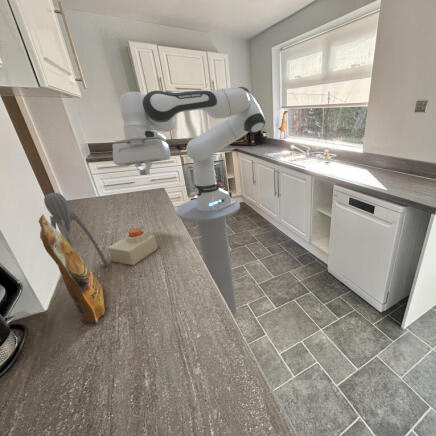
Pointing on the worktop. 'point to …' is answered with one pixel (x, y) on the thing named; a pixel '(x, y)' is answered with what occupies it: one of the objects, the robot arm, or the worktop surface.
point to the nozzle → (135, 232)
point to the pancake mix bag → (74, 273)
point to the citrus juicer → (66, 217)
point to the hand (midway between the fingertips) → (144, 174)
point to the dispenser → (132, 248)
